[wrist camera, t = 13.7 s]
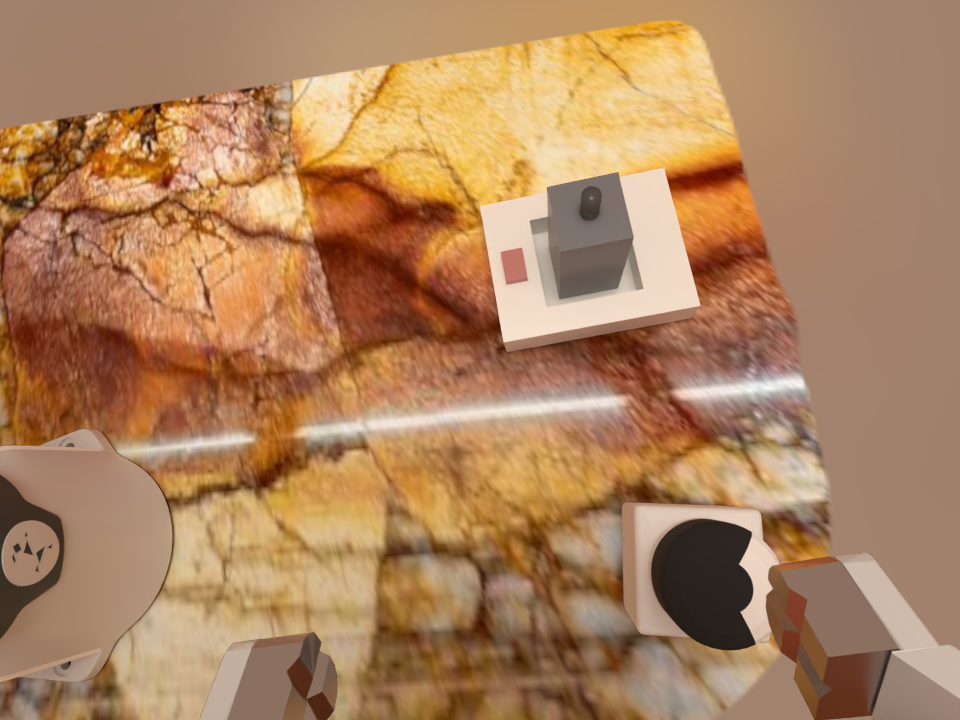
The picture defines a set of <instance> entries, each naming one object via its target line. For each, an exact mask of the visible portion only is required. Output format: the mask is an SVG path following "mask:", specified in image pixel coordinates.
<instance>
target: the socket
mask: <svg viewBox="0 0 960 720" xmlns="http://www.w3.org/2000/svg"><path fill="white" fill-rule="evenodd" d="M619 178H620V182H621V186H622V190H623V194H624V199H625V203H626V207H627V211H628V215H629V219H630V223H631V228H632V232H633V236H634V239H633V242H632V245H631V248H630V251H629V255H628V258H627V261H626V264H625V267H624V271H623V274H622V277H621V280H620V283H619V287H618V288H616V289H611V290H606V291H601V292H596V293H590V294H585V295H580V296H575V297H569V298H564V299H559V295H558V290H557V285H556V280H555V275H554V270H553V265H552V260H551V255H550V250H549V242H548V206H547V192H546V193H541V194H536V195H532V196H527V197H522V198H517V199H513V200H508V201H503V202H498V203H493V204H489V205H484V206H480V209H481V215H482V221H483V227H484V232H485V238H486V244H487V250H488V256H489V261H490V267H491V273H492V279H493V284H494V290H495V296H496V302H497V308H498V313H499V319H500V325H501V331H502V336H503V342H504V345H505V348H506V351H507V352H511V351H516V350H522V349H527V348H532V347H538V346H543V345H549V344H554V343H560V342H565V341H570V340H576V339H581V338H587V337H592V336H597V335H603V334H608V333H614V332H619V331H625V330H630V329H635V328H641V327H646V326H652V325H657V324H662V323H668V322H673V321H679V320H684V319H690V318H691V317H692V316H693V314H694V313H695V312H696V311H697V309H698V308H699V307H700V303H699V299H698V295H697V291H696V287H695V284H694V280H693V276H692V272H691V269H690V265H689V261H688V257H687V254H686V250H685V246H684V242H683V238H682V235H681V231H680V227H679V223H678V220H677V216H676V212H675V208H674V204H673V201H672V197H671V193H670V189H669V186H668V182H667V178H666V174H665V170H664V168H661V169H656V170H651V171H646V172H642V173H637V174H632V175H627V176H622V177H619Z"/></svg>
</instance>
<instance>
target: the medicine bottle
mask: <svg viewBox="0 0 960 720" xmlns="http://www.w3.org/2000/svg"><path fill="white" fill-rule="evenodd" d="M622 543H623V594H624V608H625V609H626V611H627V613H628V614H629V616H630V618H631V620H632V621H633V623H634V625H635V627H636V628H637V630H638V631H639V632H640V633H641V634H644V635H657V636H672V637H686V638H692V639H694V640H695V641H697V642H699V643H701V644H703V645H706V646H708V647H711V648H715V649H720V650H740V649H744V648H748V647H750V646H753V645H755V644H757V643H765V642H768V641H769V639H770V634H771V632H772V631H771V628H770V626H769V622H768V617H767V612H766V595H767V594H768V593H769V592H770V591H771V590H772V589H773V588H772V586H771V584H770V582H769V580H768V572H769V569H770V568H771V567H772V566H773V565H779V564H780V563H779V561H778V559H777V558H776V556H775V554H774V553H773V551H772V550H771V549H770V548H769V546H768V545H767V544H766V543H765V542H764V541H763V533H762V519H761V514H760V512H759V511H758V510H755V509H747V508H738V507H728V506H713V505H687V504H660V503H634V502H626V503H624V504H623V505H622Z"/></svg>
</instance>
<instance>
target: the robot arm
mask: <svg viewBox="0 0 960 720" xmlns="http://www.w3.org/2000/svg"><path fill="white" fill-rule="evenodd" d="M73 446H75V447H73ZM171 550H172V524H171V518H170V513H169V509H168V506H167V503H166V500H165V498H164V496H163V494H162V492H161V490H160V488H159V487H158V485H157V484H156V482H155V481H154V480H153V479H152V478H151V476H150V475H149V474H148V473H146V472H145V471H144V470H143V469H142V468H140V467H139V466H137V465H136V464H134V463H132V462H131V461H129V460H127V459H125V458H123V457H122V456H120V455H119V454H117V453H116V452H115V451H114V449H113V447H112V446H111V444H110V443H109V441H108V440H107V439H106V437H105V436H104V435H103V434H102V433H101V432H100V431H98V430H96V429H80V430H77V431H74V432H72V433H69V434H67V435H64V436H62V437H59V438H57V439H54V440H52V441H49V442H47V443H44V444H42V445H39V446H16V445H10V446H1V447H0V682H4V681H7V680H10V679H14V678H17V677H24V678H34V679H44V680H55V681H65V682H81V681H85V680H88V679H91V678H93V677H95V676H96V675H97V674H98V673H99V672H100V670H101V669H102V667H103V666H104V664H105V662H106V660H107V659H108V657H109V655H110V653H111V651H112V649H113V647H114V645H115V643H116V642H117V640H118V639H119V638H120V637H121V636H122V635H123V634H124V633H125V632H126V631H127V630H128V629H129V628H130V627H131V626H132V625H133V624H135V623H136V622H137V621H138V620H139V619H140V617H141V616H142V615H143V614H144V613H145V612H146V610H147V609H148V608H149V606H150V605H151V604H152V602H153V600H154V599H155V597H156V595H157V594H158V592H159V590H160V588H161V586H162V583H163V581H164V578H165V576H166V573H167V570H168V566H169V562H170V557H171ZM768 580H769V582H770V584H771V586H772V588H773V589H772V590H771V591H770V592H769V593H768V594H767V595H766V612H767V617H768V622H769V626H770V628H771V631H772V634H773V636H774V639H775V641H776V643H777V645H778V647H779V649H780V651H781V653H783V654H784V655H786V656H787V657H788V658H790V659H791V660H792V661H794V662H795V663H796V668H795V676H794V680H795V682H796V684H797V686H798V688H799V690H800V692H801V694H802V696H803V698H804V700H805V702H806V704H807V706H808V708H809V710H810V712H811V714H812V716H813V718H814V720H830V719H840V718H852V717H862V716H872V717H871V719H872V720H960V650H958V649H957V648H955V647H953V646H952V645H950V644H945V645H939V644H938V643H937V642H936V640H935V639H934V638H933V636H932V635H931V634H930V632H929V631H928V630H927V628H926V627H925V626H924V624H923V623H922V622H921V620H920V619H919V618H918V616H917V615H916V614H915V612H914V611H913V610H912V609H911V607H910V606H909V604H908V603H907V602H906V601H905V599H904V598H903V597H902V595H901V594H900V593H899V591H898V590H897V589H896V587H895V586H894V585H893V583H892V582H891V581H890V579H889V578H888V577H887V576H886V574H885V573H884V572H883V570H882V569H881V567H880V566H879V565H878V564H877V562H876V561H875V560H874V558H873V557H871V556H870V555H868V554H867V553H862V552H859V553H853V554H848V555H841V556H835V557H830V556H828V557H822V558H816V559H810V560H804V561H798V562H791V563H785V564H779V565H773V566H772V567H771V568H770V569H769V572H768ZM320 646H321V641H320V640H319V638H318V637H317V635H316V634H315V633H314V632H312V633H305V634H297V635H290V636H282V637H275V638H268V639H257V640H250V641H244V642H237V643H232V644H231V646H230V647H229V648H228V650H227V651H226V652H225V654H224V656H223V659H222V662H221V664H220V667H219V669H218V672H217V675H216V677H215V680H214V682H213V685H212V688H211V690H210V693H209V695H208V698H207V701H206V703H205V706H204V708H203V711H202V714H201V716H200V719H199V720H327V719H328V718H329V717H330V715H331V714H332V713H333V711H334V709H335V703H336V697H337V673H336V669H335V665H334V663H333V661H332V659H331V658H330V656H328V655H326V654H324V653H322V652H320V651H319V650H320ZM69 661H71V665H69Z"/></svg>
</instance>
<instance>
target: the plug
mask: <svg viewBox="0 0 960 720" xmlns="http://www.w3.org/2000/svg"><path fill="white" fill-rule="evenodd" d="M547 206H548V242H549V250H550V255H551V260H552V265H553V270H554V275H555V280H556V285H557V290H558V295H559V299H564V298H569V297H575V296H580V295H585V294H590V293H596V292H601V291H606V290H611V289H616V288H618V287H619V283H620V280H621V277H622V274H623V271H624V267H625V264H626V261H627V258H628V255H629V251H630V248H631V245H632V242H633V239H634V236H633V232H632V228H631V223H630V219H629V215H628V211H627V207H626V203H625V199H624V194H623V190H622V186H621V182H620V178H619V174H618V172H617V173H612V174H607V175H603V176H598V177H593V178H588V179H584V180H579V181H574V182H569V183H564V184H560V185H555V186H550V187H547Z"/></svg>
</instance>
